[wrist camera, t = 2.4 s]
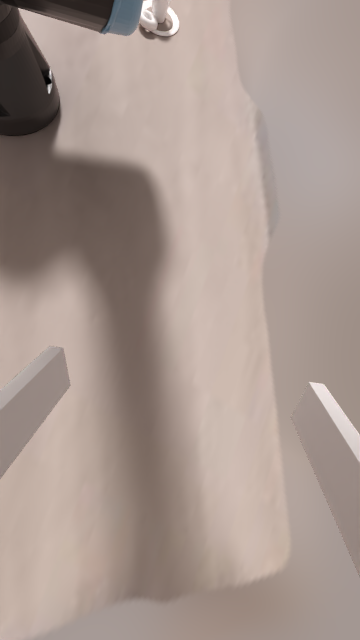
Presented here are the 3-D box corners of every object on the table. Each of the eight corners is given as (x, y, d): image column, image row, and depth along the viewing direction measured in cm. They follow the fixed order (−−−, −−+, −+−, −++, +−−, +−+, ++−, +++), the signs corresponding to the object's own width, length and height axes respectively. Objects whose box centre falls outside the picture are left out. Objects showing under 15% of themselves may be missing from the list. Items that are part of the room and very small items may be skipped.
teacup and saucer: (143, 40, 40) (144, 6, 36) (127, 4, 40) (127, -34, 36) (184, 39, 42) (189, 7, 38) (169, 4, 42) (173, -31, 38)
